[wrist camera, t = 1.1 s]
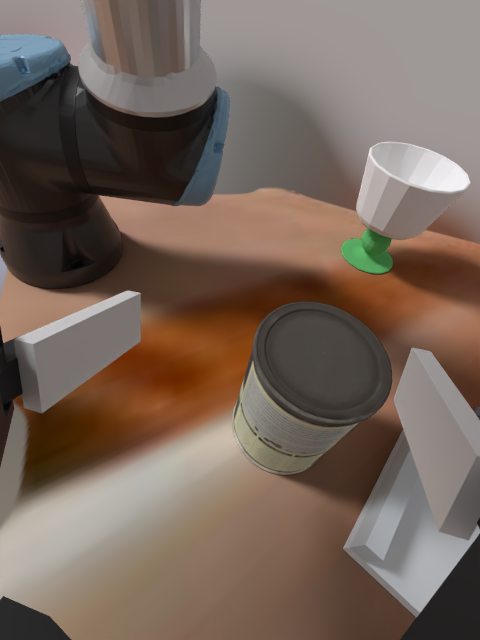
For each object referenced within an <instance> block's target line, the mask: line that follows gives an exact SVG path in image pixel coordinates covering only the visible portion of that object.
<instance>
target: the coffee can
mask: <svg viewBox="0 0 480 640" xmlns="http://www.w3.org/2000/svg"><path fill="white" fill-rule="evenodd" d="M391 385H392V369H391V364H390V360H389V358H388V355H387V353H386V351H385V349H384V347H383V345H382V344H381V342H380V341H379V339H378V338H377V337H376V335H375V334H374V333H373V332H372V331H371V330H370V329H369V328H368V327H367V326H366V325H365V324H364V323H362V322H361V321H360V320H358V319H357V318H356V317H354V316H352V315H351V314H349V313H347V312H345V311H343V310H341V309H339V308H337V307H334V306H331V305H328V304H323V303H318V302H294V303H290V304H286V305H283V306H281V307H279V308H277V309H275V310H274V311H272V312H270V313H269V314H268V315H267V316H266V317H265V318H264V319H263V320H262V322H261V323H260V325H259V327H258V329H257V331H256V334H255V337H254V341H253V349H252V353H251V356H250V360H249V363H248V366H247V370H246V373H245V377H244V380H243V383H242V387H241V390H240V393H239V396H238V400H237V403H236V405H235V408H234V411H233V418H232V426H233V432H234V436H235V439H236V441H237V444H238V446H239V447H240V449H241V450H242V452H243V453H244V455H245V456H246V457H247V458H248V459H249V460H250V461H251V462H252V463H254V464H255V465H257V466H258V467H259V468H261V469H263V470H265V471H268V472H271V473H275V474H281V475H291V474H296V473H299V472H302V471H304V470H306V469H308V468H309V467H311V466H312V465H313V464H314V463H315V462H316V461H317V460H318V459H319V458H320V457H321V456H323V455H324V454H325V453H326V452H327V451H328V450H329V449H331V448H332V447H333V446H334V445H335V444H336V443H337V442H338V441H340V440H341V439H342V438H343V437H344V436H346V435H347V434H348V433H349V432H350V431H352V430H353V429H354V428H355V427H356V426H357V425H358V424H359V423H360V422H362V421H364V420H366V419H368V418H369V417H371V416H372V415H373V414H375V413H376V412H377V411H378V410H379V409H380V408H381V407H382V406H383V404H384V403H385V401H386V400H387V398H388V396H389V393H390V390H391Z"/></svg>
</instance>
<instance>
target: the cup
mask: <svg viewBox="0 0 480 640" xmlns="http://www.w3.org/2000/svg"><path fill="white" fill-rule="evenodd" d="M469 186H470V180H469V177H468V174H467V173H466V172H465V171H464V170H463V169H462V168H461V167H460V166H459V165H457V164H456V163H454V162H453V161H451V160H449V159H448V158H446V157H445V156H443V155H440V154H438V153H436V152H433V151H431V150H429V149H426V148H423V147H419V146H415V145H412V144H407V143H400V142H383V143H378V144H376V145H375V146H373V147H371V148H370V151H369V155H368V159H367V164H366V168H365V172H364V176H363V180H362V184H361V189H360V192H359V197H358V201H357V207H356V209H357V214H358V216H359V218H360V220H361V222H362V223H363V224H364V225H365V226H366V227H367V228H368V229H367V230H366V231H365V232H364V233H363V235H362V239H356V238H355V239H351V240H347V241H346V242H345V243H344V244H343V245H342V249H341V252H342V254H343V257H344V258H345V259H346V260H347V261H348V262H349V264H350V265H352V266H354V267H355V268H357V269H359V270H361V271H364V272H367V273H370V274H382V273H386V272H388V271H389V270H390V269H391V268H392V267H393V260H392V258H391V256H390V254H389V253H388V252H387V251H386V249H387V248H388V247H389V246H390V243H391V239H398V240H405V239H409V238H413V237H415V236H418V235H420V234H421V233H422V232H423V231H424V230H425V229H426V228H427V227H428V226H429V225H430V224H431V223H433V222H434V221H435V219H437V218H438V217H439V216H440V215H441V214H442V213H443V212H444V211H445V210H446V209H447V208H448V207H449V206H450V205H451V204H452V203H453V202H454V201H455V200H456V199H458V198H459V197H460V196H461V195H462V193H464V192H465V191H466V190H467V188H468V187H469Z"/></svg>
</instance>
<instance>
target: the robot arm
mask: <svg viewBox="0 0 480 640" xmlns="http://www.w3.org/2000/svg"><path fill="white" fill-rule="evenodd" d="M80 1H81V5H82V9H83V13H84V17H85V21H86V25H87V29H88V33H89V37H90V41H89V42H88V43H87V45H86V46H85V48H84V49H83V51H82V52H81V55H80V57H79V61H78V66H73V65H71V64H70V60H71V58H70V54H69V53H68V52H67V50H66V48H65V46H64V44H63V43H62V42H61V41H59V40H57V39H52V38H51V37H48V36H42V35H26V34H12V35H0V254H1V257H2V258H3V261H4V262H5V264H6V266H7V268H8V269H9V271H10V272H11V273H12V274H13V275H14V276H15V277H16V278H18V279H19V280H21V281H23V282H25V283H28V284H30V285H34V286H38V287H44V288H67V287H73V286H78V285H82V284H85V283H88V282H91V281H93V280H96V279H98V278H100V277H101V276H103V275H105V274H106V273H108V272H109V271H110V270H111V269H112V268H113V267H114V266H115V265H116V264H117V263H118V261H119V259H120V257H121V255H122V250H123V246H122V240H121V235H120V231H119V229H118V227H117V225H116V224H115V222H114V221H113V219H112V218H111V216H110V214H109V212H108V211H107V209H106V207H105V206H104V204H103V202H102V201H101V199H100V197H99V195H101V196H109V197H116V198H123V199H130V200H138V201H145V202H152V203H160V204H167V205H172V206H179V205H187V206H201V205H204V204H206V203H207V202H208V201H209V200H210V199H211V197H212V195H213V192H214V189H215V185H216V182H217V178H218V174H219V170H220V165H221V160H222V153H223V151H222V149H223V147H224V141H225V138H226V132H227V125H228V118H229V108H230V99H229V95H228V93H227V92H226V91H224V90H222V89H221V88H219V87H216V71H215V67H214V64H213V62H212V60H211V59H210V57H209V56H208V55H207V53H206V52H205V51H204V50H203V49H202V48H201V47H200V4H201V0H80ZM140 341H141V293H138V292H133V291H128V290H127V291H125V292H122V293H120V294H118V295H115V296H113V297H111V298H108V299H106V300H104V301H101V302H99V303H97V304H94V305H92V306H90V307H87V308H85V309H83V310H80V311H78V312H76V313H73V314H71V315H69V316H66V317H64V318H62V319H59V320H57V321H55V322H52V323H50V324H47V325H45V326H43V327H40V328H38V329H36V330H33V331H31V332H29V333H26V334H24V335H22V336H19V337H17V338H15V339H12V340H10V341H8V342H5V343H3V340H2V334H1V328H0V465H1V461H2V457H3V453H4V449H5V444H6V440H7V436H8V432H9V428H10V424H11V419H12V415H13V411H14V405H13V399H15V398H16V397H18V396H19V395H21V394H22V397H23V404H24V408H26V409H29V410H33V411H36V412H39V413H43V412H45V411H46V410H47V409H49V408H50V407H51V406H53V405H54V404H55V403H57V402H58V401H60V400H61V399H62V398H64V397H65V396H66V395H68V394H69V393H71V392H72V391H73V390H75V389H76V388H77V387H79V386H80V385H81V384H83V383H84V382H86V381H87V380H88V379H90V378H91V377H92V376H94V375H95V374H96V373H98V372H99V371H101V370H102V369H103V368H105V367H106V366H107V365H109V364H110V363H111V362H113V361H114V360H116V359H117V358H118V357H120V356H121V355H122V354H124V353H125V352H126V351H128V350H129V349H131V348H132V347H133V346H135V345H136V344H137V343H139V342H140ZM394 403H395V406H396V409H397V412H398V415H399V418H400V421H401V423H402V426H403V429H404V432H405V435H406V438H407V441H408V444H409V447H410V450H411V453H412V455H413V458H414V461H415V464H416V467H417V470H418V473H419V476H420V479H421V482H422V484H423V487H424V490H425V493H426V496H427V499H428V502H429V505H430V508H431V511H432V513H433V516H434V519H435V522H436V525H437V528H438V531H439V532H442V533H445V534H448V535H452V536H455V537H458V538H462V539H465V540H468V541H469V539H470V538H471V536H472V534H473V532H474V530H475V529H476V527H477V525H478V527H479V529H480V416H479V415H476V414H475V413H474V411H473V410H472V408H471V407H470V406H469V404H468V403H467V401H466V400H465V399H464V397H463V396H462V394H461V393H460V392H459V390H458V389H457V387H456V386H455V385H454V383H453V382H452V380H451V379H450V378H449V376H448V375H447V373H446V372H445V371H444V369H443V368H442V366H441V365H440V364H439V362H438V361H437V359H436V358H435V357H434V355H433V354H432V352H431V351H427V350H422V349H417V348H411V351H410V354H409V357H408V360H407V362H406V365H405V368H404V371H403V374H402V377H401V380H400V382H399V385H398V388H397V391H396V394H395V397H394ZM0 640H71V639H70V638H69V637H68V636H67V635H66V634H65V633H64V631H63V630H62V629H61V628H60V627H59V626H58V625H57V624H56V623H55V622H54V621H53V620H52V619H51V617H50V616H47V615H45V614H43V613H40V612H38V611H36V610H34V609H31V608H29V607H27V606H24V605H22V604H20V603H18V602H15V601H13V600H11V599H8V598H6V597H4V596H3V597H2V598H1V600H0ZM400 640H480V534H479V535H478V536H477V538H476V539H475V540H474V542H473V543H472V544H471V546H470V547H469V548H468V550H467V551H466V552H465V554H464V555H463V556H462V558H461V559H460V560H459V562H458V563H457V564H456V566H455V567H454V568H453V570H452V571H451V572H450V574H449V575H448V576H447V578H446V579H445V580H444V582H443V583H442V584H441V586H440V587H439V588H438V590H437V591H436V592H435V594H434V595H433V596H432V598H431V599H430V600H429V602H428V603H427V604H426V606H425V607H424V608H423V610H422V611H421V612H420V614H419V615H418V616H417V618H416V619H415V620H414V622H413V623H412V624H411V626H410V627H409V628H408V630H407V631H406V632H405V634H404V635H403V636H402V638H401V639H400Z"/></svg>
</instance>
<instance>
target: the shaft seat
mask: <svg viewBox="0 0 480 640" xmlns="http://www.w3.org/2000/svg"><path fill="white" fill-rule="evenodd" d="M474 413H475V414H476V415H479V416H480V405H479V406H478V407H476V409H475V412H474ZM479 534H480V529H479V527H478V525H477V527H476V529H475V530H474V532H473V534H472V536H471V538H470V539H469V541H468V540H465V539H462V538H458V537H455V536H452V535H448V534H445V533H442V532H439V531H438V528H437V525H436V522H435V519H434V516H433V513H432V511H431V508H430V505H429V502H428V499H427V496H426V493H425V490H424V487H423V484H422V482H421V479H420V476H419V473H418V470H417V467H416V464H415V461H414V458H413V455H412V453H411V450H410V447H409V444H408V441H407V438H406V435H405V432H404V429H403V430H402V432H401V434H400V436H399V438H398V440H397V442H396V444H395V446H394V448H393V450H392V452H391V454H390V456H389V458H388V460H387V462H386V464H385V466H384V468H383V470H382V472H381V474H380V476H379V478H378V480H377V482H376V484H375V486H374V488H373V490H372V492H371V494H370V496H369V498H368V500H367V502H366V504H365V506H364V508H363V510H362V511H361V513H360V515H359V517H358V519H357V521H356V523H355V525H354V527H353V529H352V531H351V533H350V535H349V537H348V539H347V541H346V543H345V545H344V547H343V549H344V550H345V551H346V552H347V553H348V554H349V555H350V556H351V557H352V558H353V559H354V560H355V561H356V562H357V563H359V564H360V565H361V566H362V567H363V568H364V569H365V570H366V571H367V572H368V573H369V574H370V575H371V576H372V577H373V578H375V579H376V580H377V581H378V582H379V583H380V584H381V585H382V586H383V587H384V588H385V589H386V590H387V591H388V592H389V593H391V594H392V595H393V596H394V597H395V598H396V599H397V600H398V601H399V602H400V603H401V604H402V605H403V606H404V607H405V608H407V609H408V610H409V611H410V612H411V613H412V614H413V615H414V616H415V617H416V618H417V616H418V615H419V614H420V612H421V611H422V610H423V608H424V607H425V606H426V604H427V603H428V602H429V600H430V599H431V598H432V596H433V595H434V594H435V592H436V591H437V590H438V588H439V587H440V586H441V584H442V583H443V582H444V580H445V579H446V578H447V576H448V575H449V574H450V572H451V571H452V570H453V568H454V567H455V566H456V564H457V563H458V562H459V560H460V559H461V558H462V556H463V555H464V554H465V552H466V551H467V550H468V548H469V547H470V546H471V544H472V543H473V542H474V540H475V539H476V538H477V536H478V535H479Z"/></svg>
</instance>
